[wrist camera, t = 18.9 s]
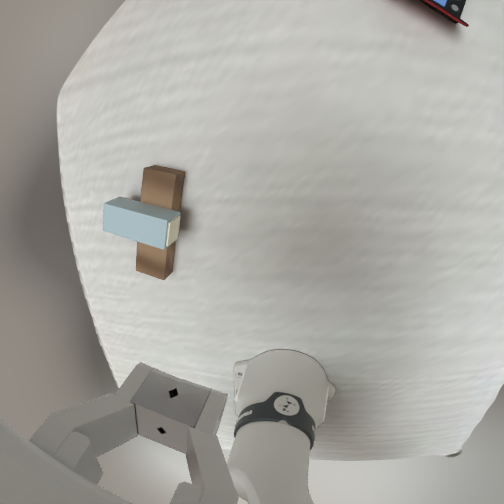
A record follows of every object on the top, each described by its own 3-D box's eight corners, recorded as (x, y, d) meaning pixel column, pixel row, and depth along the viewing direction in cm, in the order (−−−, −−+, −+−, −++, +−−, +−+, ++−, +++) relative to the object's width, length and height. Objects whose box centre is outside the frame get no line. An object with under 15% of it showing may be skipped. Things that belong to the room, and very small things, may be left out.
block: (118, 222, 44) (178, 239, 43) (102, 230, 40) (165, 250, 39) (119, 196, 42) (182, 212, 41) (103, 203, 39) (169, 221, 38)
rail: (172, 271, 49) (164, 280, 46) (145, 262, 49) (135, 270, 46) (185, 171, 42) (176, 174, 39) (154, 165, 43) (143, 168, 40)
